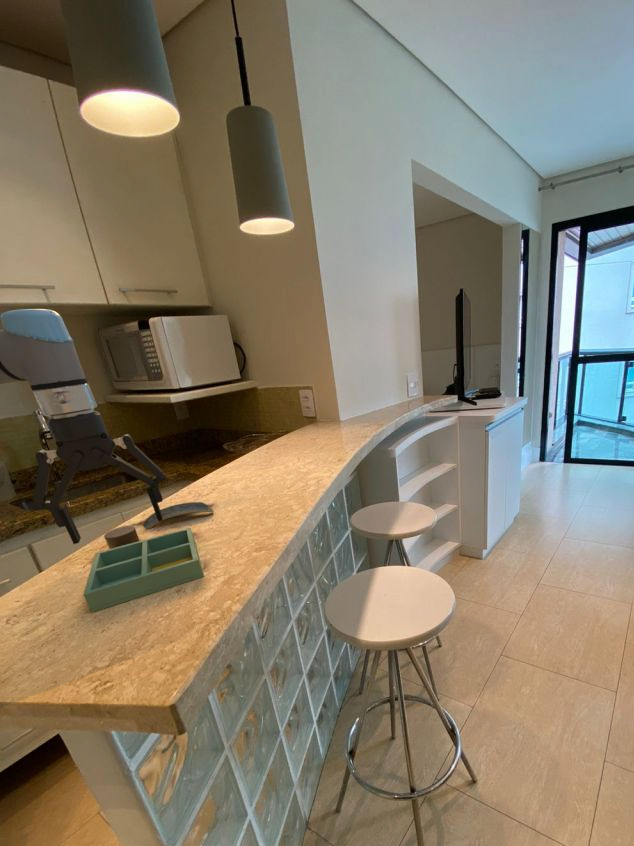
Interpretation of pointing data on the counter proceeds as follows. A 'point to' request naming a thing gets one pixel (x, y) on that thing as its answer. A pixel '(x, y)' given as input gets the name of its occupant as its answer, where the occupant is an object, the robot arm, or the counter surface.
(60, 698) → the counter surface
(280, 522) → the counter surface
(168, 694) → the counter surface
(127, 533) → the brown short cylinder
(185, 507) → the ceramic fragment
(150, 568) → the grid
